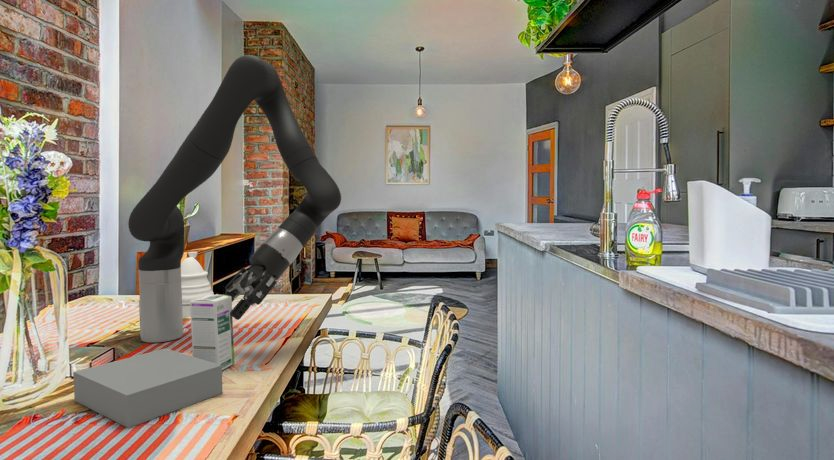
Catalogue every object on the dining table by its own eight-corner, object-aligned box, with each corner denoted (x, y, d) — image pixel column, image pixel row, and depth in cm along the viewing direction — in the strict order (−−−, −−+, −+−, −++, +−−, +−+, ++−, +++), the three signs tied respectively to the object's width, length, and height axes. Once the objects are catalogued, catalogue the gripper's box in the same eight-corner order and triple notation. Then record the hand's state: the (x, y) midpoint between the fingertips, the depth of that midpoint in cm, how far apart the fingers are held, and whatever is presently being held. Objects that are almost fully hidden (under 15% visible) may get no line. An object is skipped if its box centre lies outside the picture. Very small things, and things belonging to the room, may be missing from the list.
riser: (74, 400, 84) (73, 371, 84) (166, 373, 98) (165, 348, 97) (128, 428, 74) (126, 395, 74) (222, 393, 88) (221, 365, 87)
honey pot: (181, 307, 157) (179, 250, 155) (221, 307, 156) (220, 250, 155) (158, 317, 144) (156, 255, 143) (202, 317, 143) (200, 255, 142)
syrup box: (218, 373, 97) (216, 300, 96) (191, 371, 98) (189, 299, 97) (234, 364, 103) (233, 294, 102) (209, 362, 104) (207, 293, 103)
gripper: (251, 240, 112) (200, 297, 105) (280, 244, 101) (225, 308, 94) (274, 261, 116) (226, 318, 109) (304, 267, 105) (252, 330, 98)
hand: (225, 313), depth 102 cm, fingers open, 8 cm apart
